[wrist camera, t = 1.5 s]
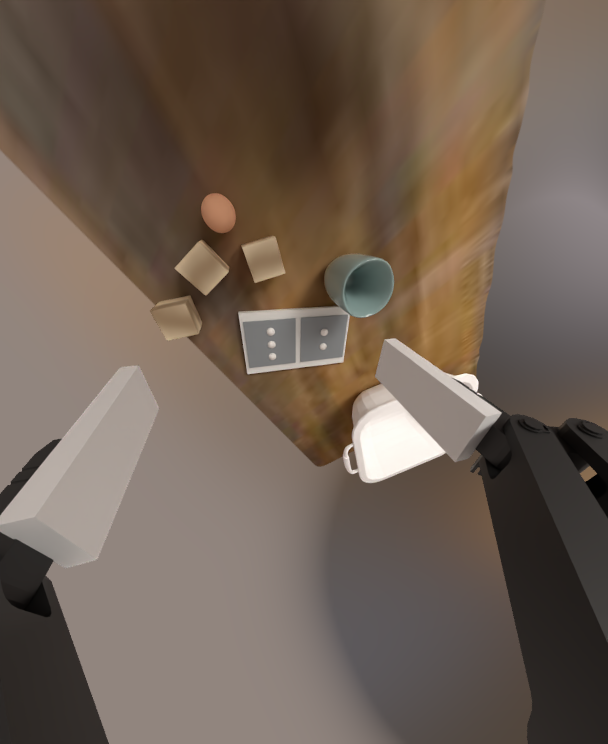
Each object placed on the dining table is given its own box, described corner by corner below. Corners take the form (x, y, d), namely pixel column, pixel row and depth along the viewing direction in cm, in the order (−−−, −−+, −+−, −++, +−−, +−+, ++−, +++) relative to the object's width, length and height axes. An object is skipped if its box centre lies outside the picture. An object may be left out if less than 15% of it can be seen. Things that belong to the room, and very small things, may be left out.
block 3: (241, 244, 31) (241, 247, 27) (270, 235, 31) (275, 236, 28) (252, 277, 34) (254, 283, 30) (280, 268, 34) (285, 273, 30)
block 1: (185, 303, 29) (190, 295, 33) (149, 310, 29) (159, 301, 32) (198, 333, 32) (202, 322, 35) (166, 341, 31) (173, 329, 35)
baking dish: (448, 335, 51) (501, 362, 41) (434, 413, 68) (470, 445, 58) (314, 386, 49) (335, 428, 39) (334, 453, 66) (353, 495, 56)
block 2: (181, 263, 30) (174, 268, 27) (202, 239, 30) (198, 241, 26) (208, 288, 33) (205, 295, 29) (229, 266, 32) (228, 272, 28)
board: (238, 311, 36) (238, 314, 35) (349, 304, 40) (352, 307, 39) (247, 372, 42) (247, 375, 41) (341, 360, 47) (344, 363, 46)
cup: (323, 305, 39) (346, 326, 31) (313, 259, 34) (337, 269, 26) (362, 291, 40) (395, 307, 32) (358, 243, 35) (394, 248, 27)
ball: (199, 194, 27) (195, 189, 24) (233, 196, 28) (233, 192, 25) (207, 232, 29) (203, 233, 26) (237, 232, 30) (238, 233, 27)
